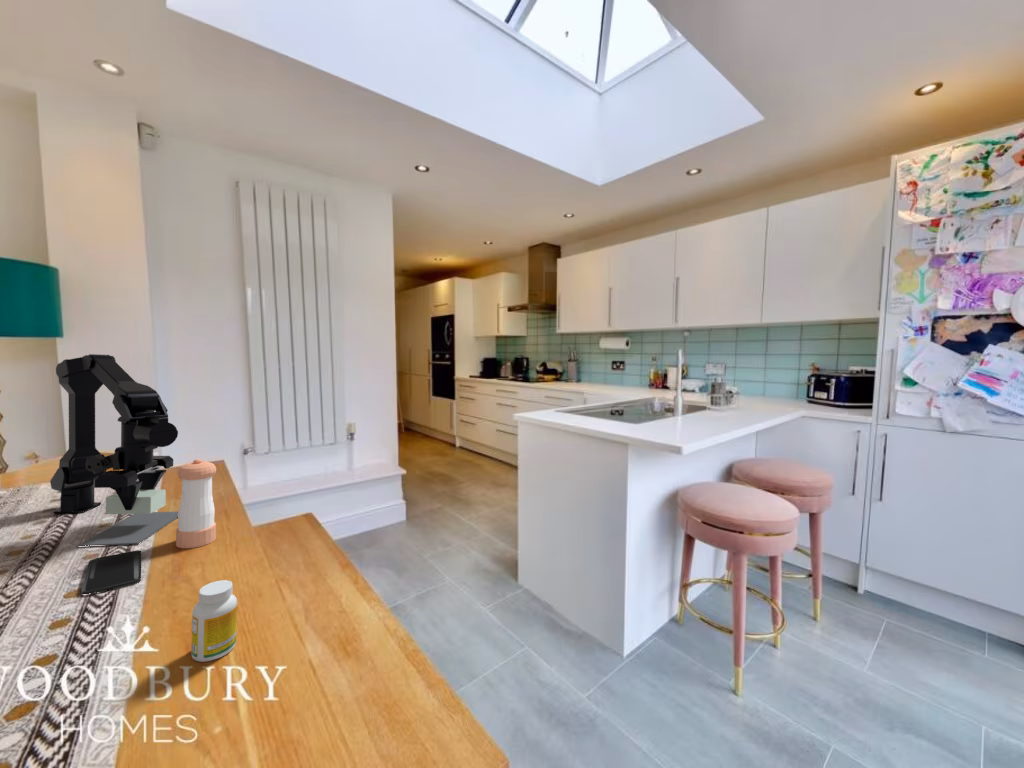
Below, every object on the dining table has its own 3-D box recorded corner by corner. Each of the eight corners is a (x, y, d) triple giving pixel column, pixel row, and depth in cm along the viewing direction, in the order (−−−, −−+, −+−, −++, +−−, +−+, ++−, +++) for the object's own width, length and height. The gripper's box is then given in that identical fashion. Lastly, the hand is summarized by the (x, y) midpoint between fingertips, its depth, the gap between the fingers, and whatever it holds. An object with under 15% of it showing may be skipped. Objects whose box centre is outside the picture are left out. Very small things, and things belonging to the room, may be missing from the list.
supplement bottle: (181, 661, 57) (182, 596, 57) (210, 636, 63) (212, 576, 62) (218, 664, 57) (219, 599, 57) (244, 639, 62) (246, 578, 62)
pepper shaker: (187, 535, 96) (188, 455, 95) (221, 534, 97) (223, 455, 96) (168, 549, 89) (169, 463, 88) (205, 547, 90) (207, 463, 89)
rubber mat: (136, 514, 106) (136, 512, 106) (184, 513, 108) (184, 511, 108) (77, 547, 87) (77, 545, 87) (138, 544, 90) (138, 542, 90)
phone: (141, 549, 87) (141, 579, 76) (141, 554, 87) (140, 585, 76) (88, 559, 81) (79, 593, 70) (88, 565, 81) (79, 599, 70)
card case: (165, 505, 101) (165, 489, 101) (150, 513, 96) (150, 497, 95) (123, 505, 99) (123, 489, 99) (105, 514, 94) (105, 497, 94)
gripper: (124, 434, 104) (123, 493, 105) (63, 450, 86) (63, 522, 86) (174, 434, 106) (174, 492, 107) (126, 450, 88) (125, 520, 89)
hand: (136, 505), depth 97 cm, fingers closed on card case, 6 cm apart
